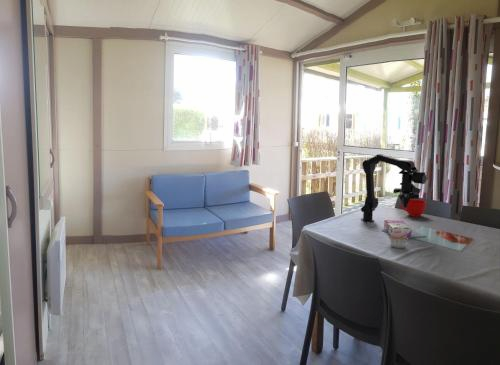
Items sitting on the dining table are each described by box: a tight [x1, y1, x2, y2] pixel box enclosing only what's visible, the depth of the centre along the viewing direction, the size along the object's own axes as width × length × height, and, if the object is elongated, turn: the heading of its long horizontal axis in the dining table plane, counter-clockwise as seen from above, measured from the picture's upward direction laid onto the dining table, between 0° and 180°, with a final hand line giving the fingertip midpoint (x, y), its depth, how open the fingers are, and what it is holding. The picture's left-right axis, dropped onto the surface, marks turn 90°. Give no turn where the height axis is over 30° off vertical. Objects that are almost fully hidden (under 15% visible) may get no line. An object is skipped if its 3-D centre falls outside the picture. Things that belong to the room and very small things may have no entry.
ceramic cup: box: [400, 199, 427, 218], centre depth 265 cm, size 13×17×10 cm
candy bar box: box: [383, 219, 413, 236], centre depth 225 cm, size 11×5×16 cm
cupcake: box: [388, 228, 409, 249], centre depth 201 cm, size 9×9×10 cm
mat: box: [381, 229, 427, 239], centre depth 224 cm, size 16×18×1 cm
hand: (404, 207), depth 234 cm, fingers closed
